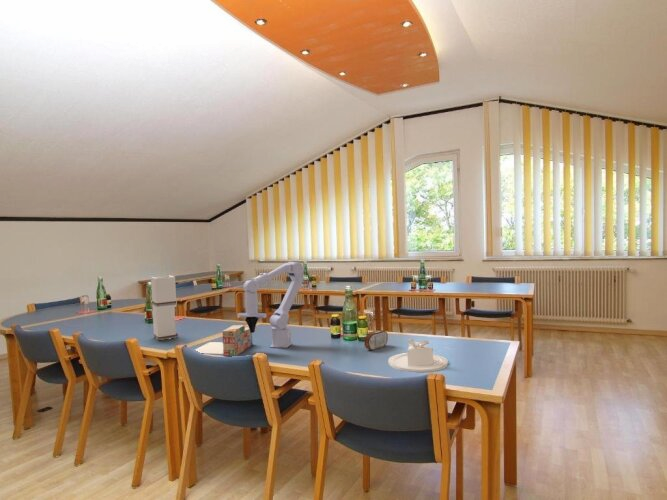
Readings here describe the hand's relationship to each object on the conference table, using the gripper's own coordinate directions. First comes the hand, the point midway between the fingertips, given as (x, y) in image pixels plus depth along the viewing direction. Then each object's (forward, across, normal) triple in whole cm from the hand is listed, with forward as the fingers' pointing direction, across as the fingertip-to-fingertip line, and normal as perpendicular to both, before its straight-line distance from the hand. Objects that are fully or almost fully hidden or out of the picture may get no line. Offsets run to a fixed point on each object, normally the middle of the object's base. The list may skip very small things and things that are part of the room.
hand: (252, 332), depth 211 cm
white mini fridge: (+9, -63, +21) cm, 67 cm away
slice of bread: (+9, +60, +10) cm, 62 cm away
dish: (+10, +80, -11) cm, 81 cm away
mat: (+9, -22, +2) cm, 23 cm away
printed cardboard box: (+10, -8, +1) cm, 12 cm away
